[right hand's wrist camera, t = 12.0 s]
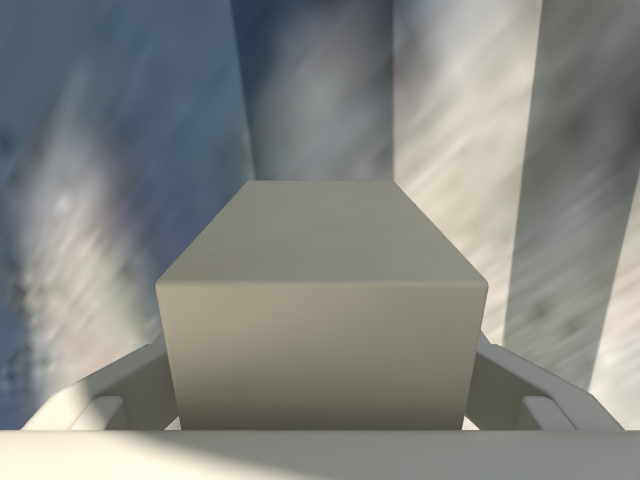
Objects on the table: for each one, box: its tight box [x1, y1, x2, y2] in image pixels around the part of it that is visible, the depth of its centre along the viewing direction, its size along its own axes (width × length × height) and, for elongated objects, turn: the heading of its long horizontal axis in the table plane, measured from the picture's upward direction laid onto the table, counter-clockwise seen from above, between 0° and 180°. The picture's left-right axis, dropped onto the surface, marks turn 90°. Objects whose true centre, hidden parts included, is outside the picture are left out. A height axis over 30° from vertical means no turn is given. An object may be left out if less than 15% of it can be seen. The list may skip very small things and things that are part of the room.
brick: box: [156, 181, 488, 430], centre depth 10 cm, size 5×7×7 cm
